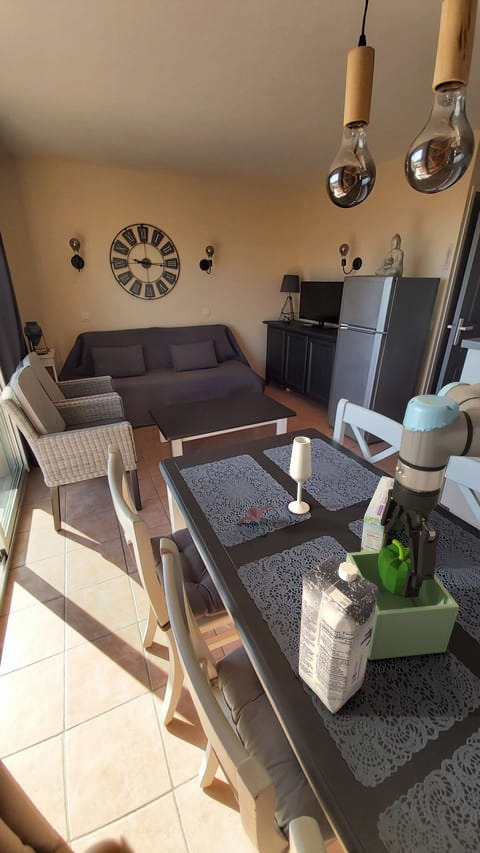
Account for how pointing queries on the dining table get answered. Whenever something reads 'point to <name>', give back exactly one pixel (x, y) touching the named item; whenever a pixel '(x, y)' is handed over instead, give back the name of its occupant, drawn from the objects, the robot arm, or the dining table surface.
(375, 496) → the snack box
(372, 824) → the dining table surface
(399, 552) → the bell pepper
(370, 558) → the open storage box
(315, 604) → the juice carton
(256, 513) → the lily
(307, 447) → the champagne flute
